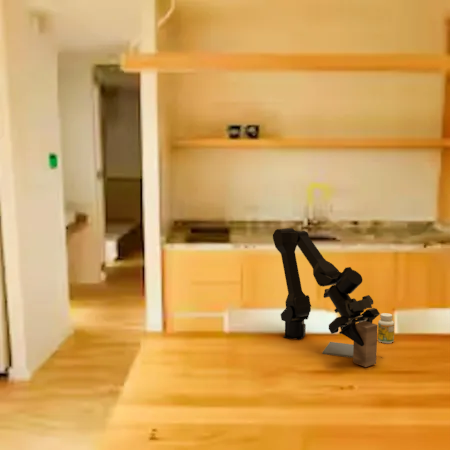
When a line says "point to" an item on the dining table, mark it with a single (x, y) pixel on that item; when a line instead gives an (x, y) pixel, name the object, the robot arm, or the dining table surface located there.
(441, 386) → the dining table surface
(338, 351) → the charcoal mat
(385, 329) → the supplement bottle
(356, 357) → the walnut block
